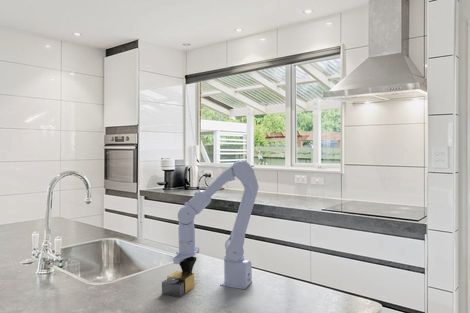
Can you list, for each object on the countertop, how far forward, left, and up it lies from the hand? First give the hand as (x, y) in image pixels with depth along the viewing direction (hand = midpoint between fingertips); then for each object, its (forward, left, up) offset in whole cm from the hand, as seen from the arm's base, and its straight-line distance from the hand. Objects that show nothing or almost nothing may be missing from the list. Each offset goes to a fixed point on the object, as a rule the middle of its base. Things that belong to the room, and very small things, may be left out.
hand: (187, 278), depth 130 cm
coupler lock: (0, +4, -2) cm, 5 cm away
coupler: (0, +7, -2) cm, 7 cm away
